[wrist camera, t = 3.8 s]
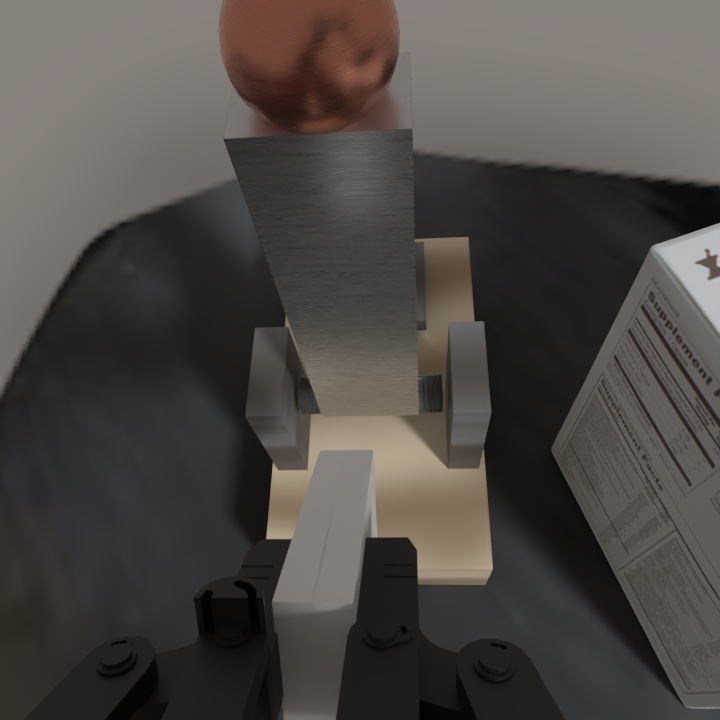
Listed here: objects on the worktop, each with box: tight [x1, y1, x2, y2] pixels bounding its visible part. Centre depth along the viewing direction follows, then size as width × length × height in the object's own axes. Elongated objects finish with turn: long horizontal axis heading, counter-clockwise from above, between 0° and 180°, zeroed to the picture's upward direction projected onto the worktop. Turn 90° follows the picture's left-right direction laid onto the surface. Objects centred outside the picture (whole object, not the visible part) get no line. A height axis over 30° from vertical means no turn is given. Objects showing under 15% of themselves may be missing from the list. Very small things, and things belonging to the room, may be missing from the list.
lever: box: [218, 0, 443, 417], centre depth 20 cm, size 5×6×19 cm
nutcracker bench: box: [245, 237, 493, 585], centre depth 31 cm, size 18×10×10 cm, turn 179°
